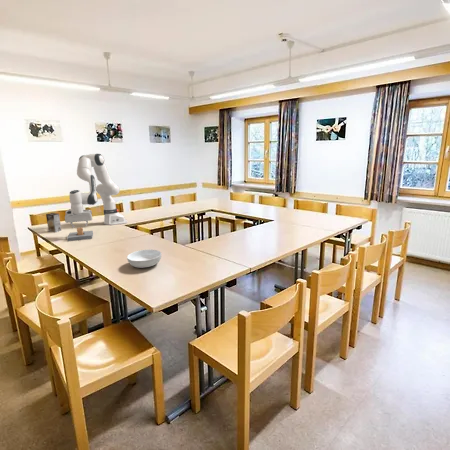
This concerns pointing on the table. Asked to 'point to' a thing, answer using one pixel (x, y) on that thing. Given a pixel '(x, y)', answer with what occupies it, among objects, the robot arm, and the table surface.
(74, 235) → the socket plate
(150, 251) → the serving bowl
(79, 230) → the plug
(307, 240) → the table surface
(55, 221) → the coffee box
